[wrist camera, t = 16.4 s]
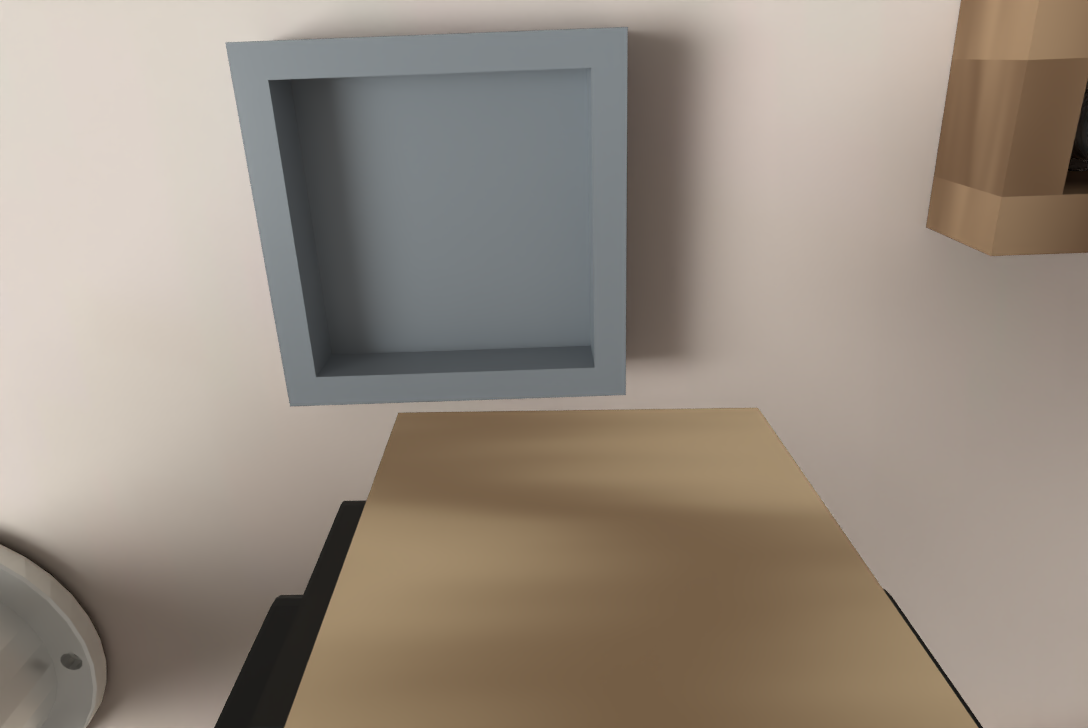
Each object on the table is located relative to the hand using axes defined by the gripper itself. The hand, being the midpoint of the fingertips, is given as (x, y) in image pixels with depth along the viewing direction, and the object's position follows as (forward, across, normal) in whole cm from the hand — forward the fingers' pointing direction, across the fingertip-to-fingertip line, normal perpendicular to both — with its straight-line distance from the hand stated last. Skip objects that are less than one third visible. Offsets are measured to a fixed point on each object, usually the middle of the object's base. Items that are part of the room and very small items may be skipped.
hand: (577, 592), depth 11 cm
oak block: (+1, 0, 0) cm, 1 cm away
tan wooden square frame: (+16, -16, -6) cm, 24 cm away
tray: (+17, +3, -2) cm, 17 cm away
